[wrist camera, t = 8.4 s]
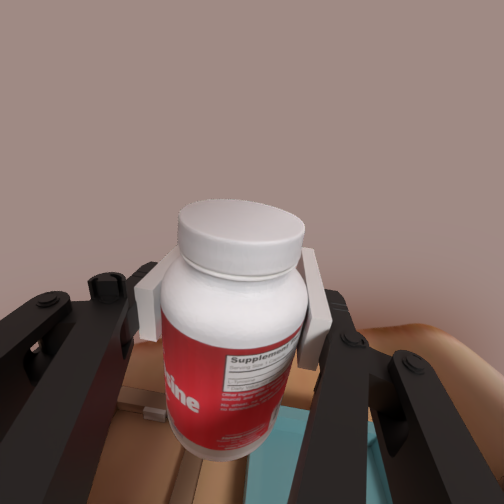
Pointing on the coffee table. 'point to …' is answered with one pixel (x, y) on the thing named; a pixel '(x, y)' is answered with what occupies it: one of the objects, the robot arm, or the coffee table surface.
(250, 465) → the tray
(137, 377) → the coffee table surface
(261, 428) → the pill bottle
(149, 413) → the bottle holder
